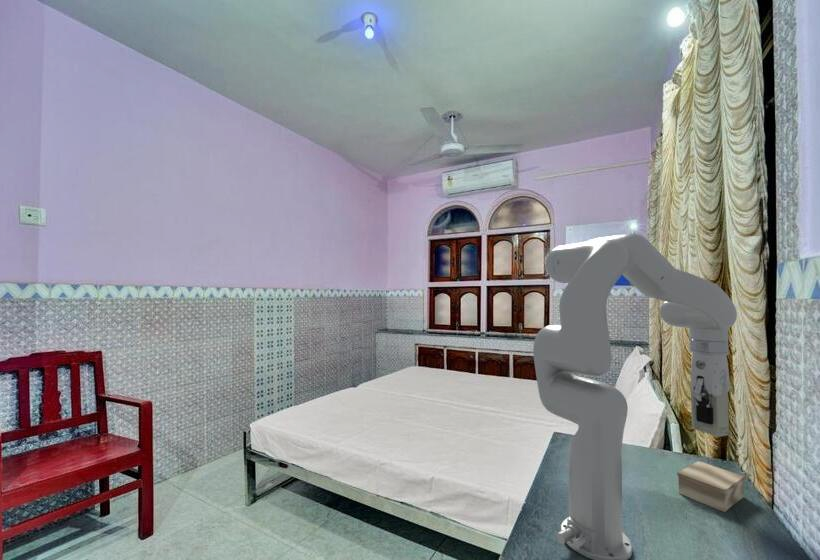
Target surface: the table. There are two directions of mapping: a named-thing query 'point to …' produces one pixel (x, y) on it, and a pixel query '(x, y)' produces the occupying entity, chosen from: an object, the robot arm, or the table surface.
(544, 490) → the table surface
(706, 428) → the skincare box
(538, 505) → the table surface
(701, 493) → the birch trinket box
